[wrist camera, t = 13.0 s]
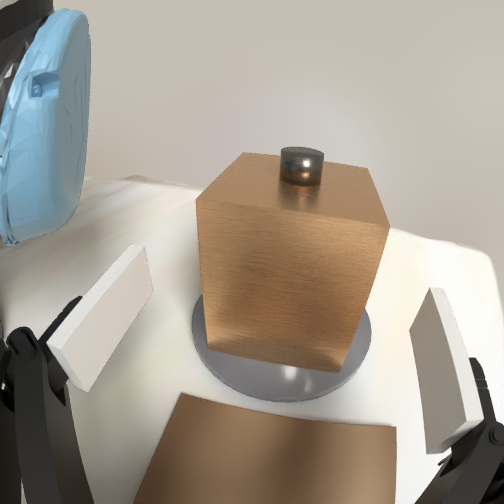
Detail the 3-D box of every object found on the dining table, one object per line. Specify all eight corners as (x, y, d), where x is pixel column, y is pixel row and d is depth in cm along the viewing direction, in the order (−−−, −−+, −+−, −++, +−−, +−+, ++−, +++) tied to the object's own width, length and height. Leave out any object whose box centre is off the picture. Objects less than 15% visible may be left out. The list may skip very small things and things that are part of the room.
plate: (156, 331, 22) (154, 322, 22) (263, 255, 32) (263, 247, 31) (312, 439, 15) (316, 433, 15) (389, 312, 25) (392, 303, 24)
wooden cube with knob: (208, 349, 20) (194, 167, 13) (241, 273, 27) (243, 131, 21) (338, 373, 19) (398, 193, 12) (341, 289, 26) (370, 146, 19)
